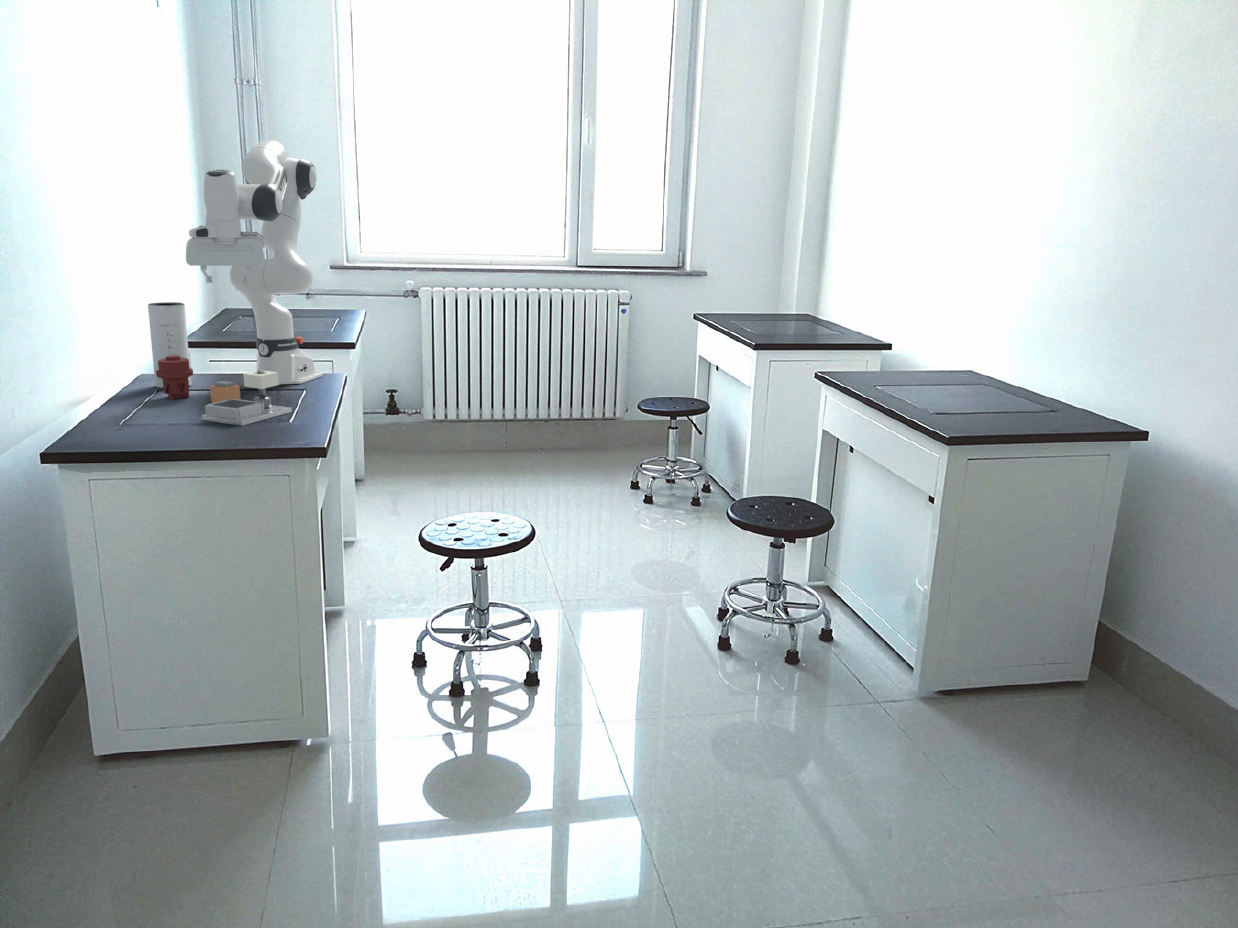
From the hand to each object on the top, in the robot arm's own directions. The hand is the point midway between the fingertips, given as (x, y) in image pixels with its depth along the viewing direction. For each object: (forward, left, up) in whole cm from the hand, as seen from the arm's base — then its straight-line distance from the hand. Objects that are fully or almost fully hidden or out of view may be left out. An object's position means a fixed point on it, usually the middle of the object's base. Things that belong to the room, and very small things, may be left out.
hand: (227, 282), depth 269 cm
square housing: (+2, +11, -28) cm, 30 cm away
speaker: (-12, -38, -35) cm, 53 cm away
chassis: (+8, +11, -35) cm, 38 cm away
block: (+2, -3, -35) cm, 35 cm away
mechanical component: (0, -24, -35) cm, 42 cm away
